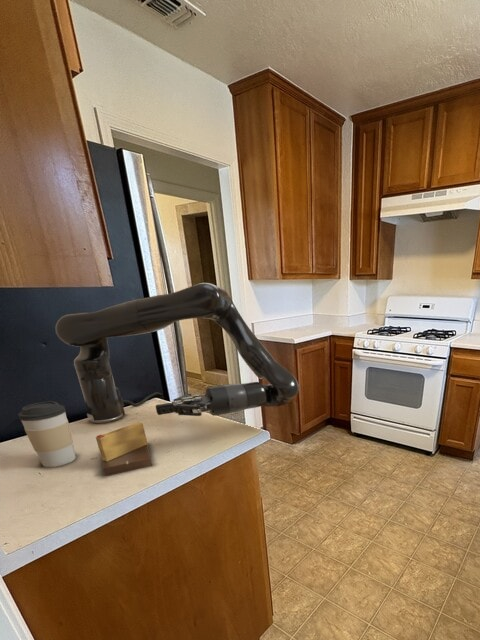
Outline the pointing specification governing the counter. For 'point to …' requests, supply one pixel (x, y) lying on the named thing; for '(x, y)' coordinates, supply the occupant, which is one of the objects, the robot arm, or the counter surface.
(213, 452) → the counter surface
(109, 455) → the wooden toy block
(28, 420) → the coffee cup
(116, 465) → the brown square board
